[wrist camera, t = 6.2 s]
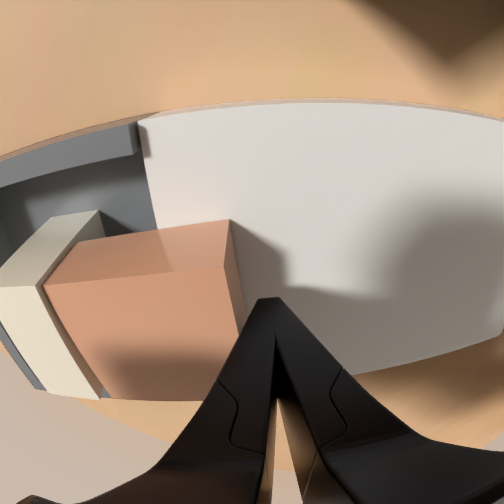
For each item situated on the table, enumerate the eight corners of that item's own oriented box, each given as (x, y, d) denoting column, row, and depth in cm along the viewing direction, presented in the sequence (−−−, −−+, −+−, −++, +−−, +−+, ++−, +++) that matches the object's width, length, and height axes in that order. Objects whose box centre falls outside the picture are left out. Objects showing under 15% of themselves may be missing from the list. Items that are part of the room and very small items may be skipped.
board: (516, 121, 10) (559, 137, 7) (475, 303, 15) (500, 335, 13) (162, 111, 10) (137, 120, 7) (206, 343, 15) (203, 391, 13)
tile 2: (229, 219, 9) (223, 266, 7) (252, 344, 11) (253, 397, 9) (77, 242, 9) (42, 285, 7) (128, 351, 12) (112, 398, 9)
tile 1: (34, 285, 7) (-18, 287, 7) (100, 400, 9) (49, 393, 9) (98, 209, 11) (51, 217, 11) (130, 311, 14) (86, 311, 14)
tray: (159, 111, 10) (127, 124, 7) (204, 343, 15) (200, 400, 12) (-18, 163, 10) (-67, 191, 7) (56, 344, 15) (35, 388, 12)
